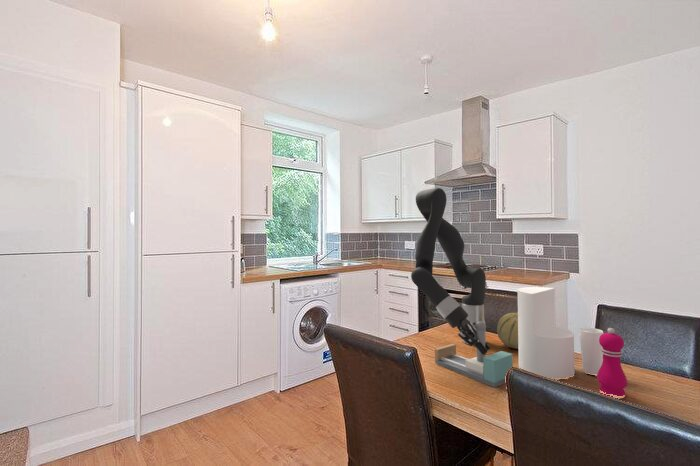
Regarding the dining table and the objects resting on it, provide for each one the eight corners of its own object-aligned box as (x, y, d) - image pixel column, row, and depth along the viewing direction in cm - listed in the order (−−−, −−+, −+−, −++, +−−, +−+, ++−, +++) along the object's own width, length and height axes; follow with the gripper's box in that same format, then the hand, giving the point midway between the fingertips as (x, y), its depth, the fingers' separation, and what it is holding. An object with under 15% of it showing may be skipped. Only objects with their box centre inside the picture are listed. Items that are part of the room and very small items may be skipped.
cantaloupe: (509, 340, 156) (508, 306, 156) (542, 348, 144) (541, 312, 144) (489, 346, 148) (489, 311, 148) (523, 356, 136) (522, 318, 136)
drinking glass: (600, 371, 121) (599, 328, 121) (607, 379, 115) (607, 333, 114) (577, 368, 123) (577, 326, 123) (583, 376, 117) (583, 332, 117)
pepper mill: (591, 389, 107) (590, 325, 107) (613, 388, 108) (612, 324, 108) (610, 401, 100) (609, 332, 100) (634, 399, 101) (633, 330, 100)
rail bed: (452, 357, 136) (452, 335, 136) (512, 379, 115) (512, 354, 115) (435, 363, 131) (434, 340, 131) (494, 387, 110) (494, 360, 110)
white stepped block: (509, 368, 125) (508, 290, 125) (532, 357, 135) (531, 285, 135) (562, 384, 111) (560, 297, 111) (582, 370, 121) (581, 291, 121)
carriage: (479, 361, 125) (479, 317, 125) (497, 367, 119) (496, 321, 119) (465, 366, 120) (464, 321, 120) (482, 373, 115) (482, 325, 114)
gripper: (451, 308, 118) (489, 351, 111) (465, 301, 130) (500, 339, 122) (437, 322, 122) (473, 364, 114) (451, 314, 133) (485, 351, 126)
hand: (487, 351), depth 118 cm, fingers closed on carriage, 3 cm apart
